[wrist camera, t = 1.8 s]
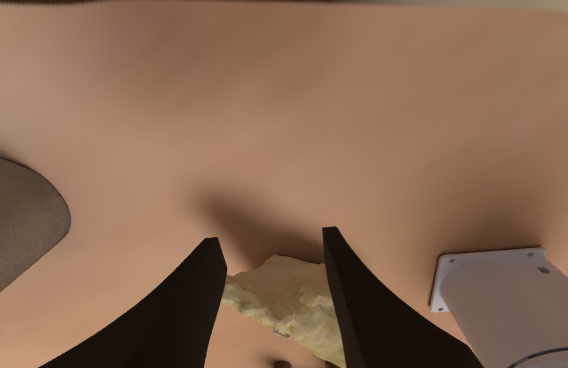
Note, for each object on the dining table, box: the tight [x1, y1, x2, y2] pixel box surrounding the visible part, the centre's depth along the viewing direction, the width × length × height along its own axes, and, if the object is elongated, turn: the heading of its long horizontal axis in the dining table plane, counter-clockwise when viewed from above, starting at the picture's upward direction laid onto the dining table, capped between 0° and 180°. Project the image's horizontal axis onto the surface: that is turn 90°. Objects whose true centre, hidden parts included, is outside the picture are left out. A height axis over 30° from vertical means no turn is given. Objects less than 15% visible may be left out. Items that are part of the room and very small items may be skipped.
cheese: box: [221, 254, 346, 368], centre depth 24 cm, size 15×7×15 cm
